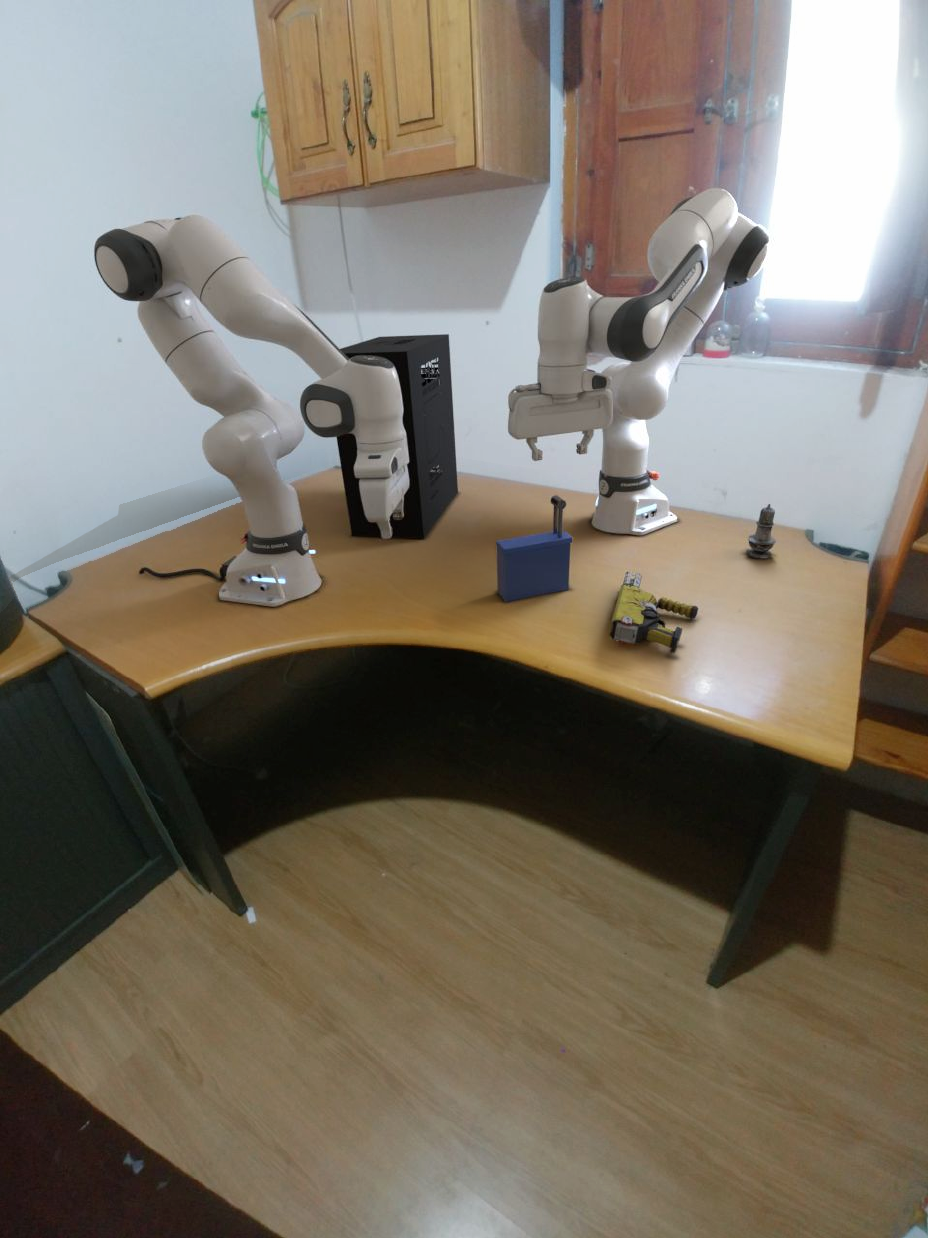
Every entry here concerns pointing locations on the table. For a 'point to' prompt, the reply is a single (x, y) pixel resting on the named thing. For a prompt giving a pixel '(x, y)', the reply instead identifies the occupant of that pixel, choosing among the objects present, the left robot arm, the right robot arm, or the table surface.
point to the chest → (533, 572)
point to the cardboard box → (412, 434)
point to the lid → (543, 538)
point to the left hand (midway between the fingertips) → (393, 527)
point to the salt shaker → (762, 535)
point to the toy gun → (645, 616)
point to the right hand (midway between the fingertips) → (559, 456)
